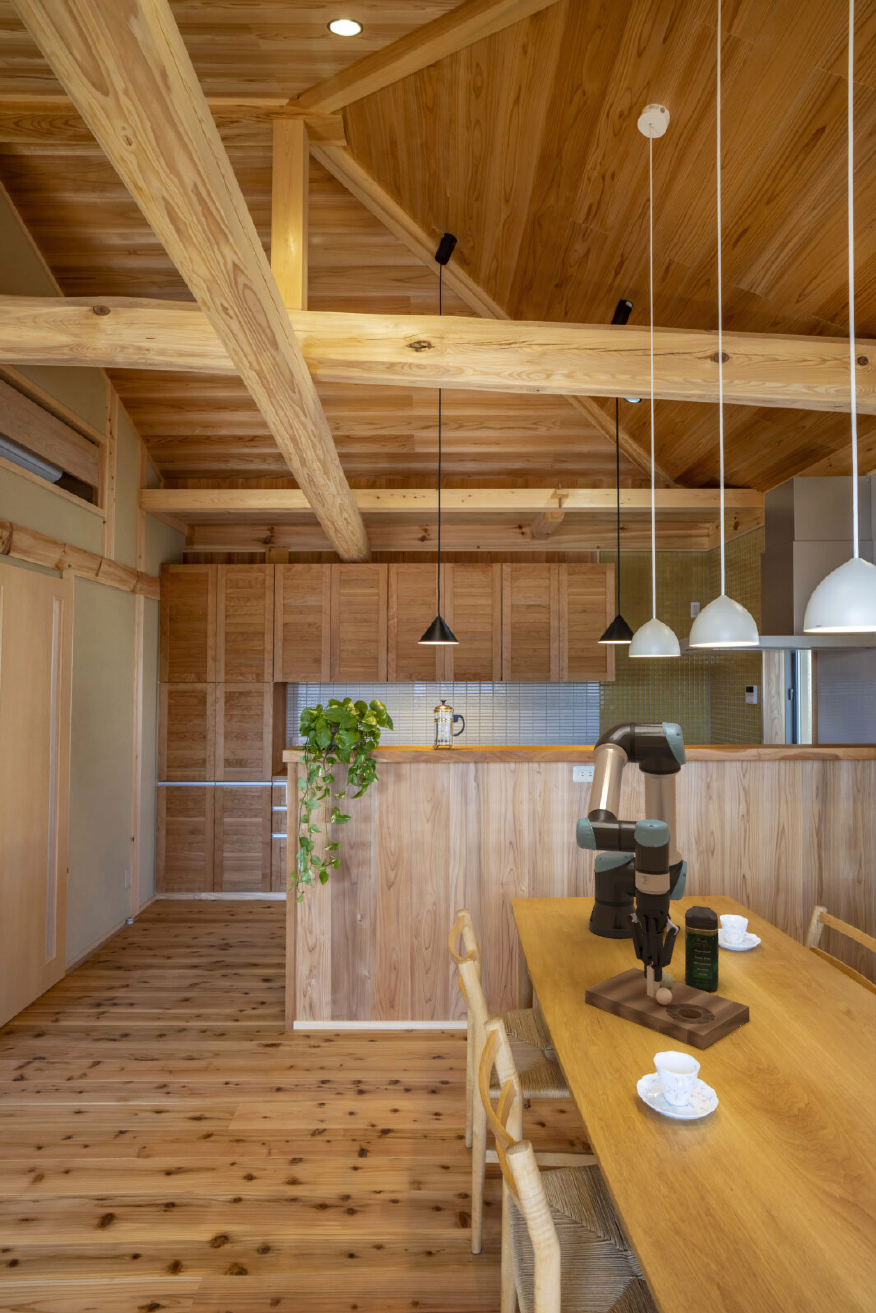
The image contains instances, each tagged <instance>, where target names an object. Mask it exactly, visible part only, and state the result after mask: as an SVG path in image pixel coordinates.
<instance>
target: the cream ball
mask: <svg viewBox="0 0 876 1313" xmlns="http://www.w3.org/2000/svg"><path fill="white" fill-rule="evenodd" d="M656 999H657V1001H658V1002H659V1003H660V1004H662V1005H668V1004H670V1003H671V1001H672V993H671V992H670V990H668V989H667V988H659V989H658V990H657V992H656Z"/></svg>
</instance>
